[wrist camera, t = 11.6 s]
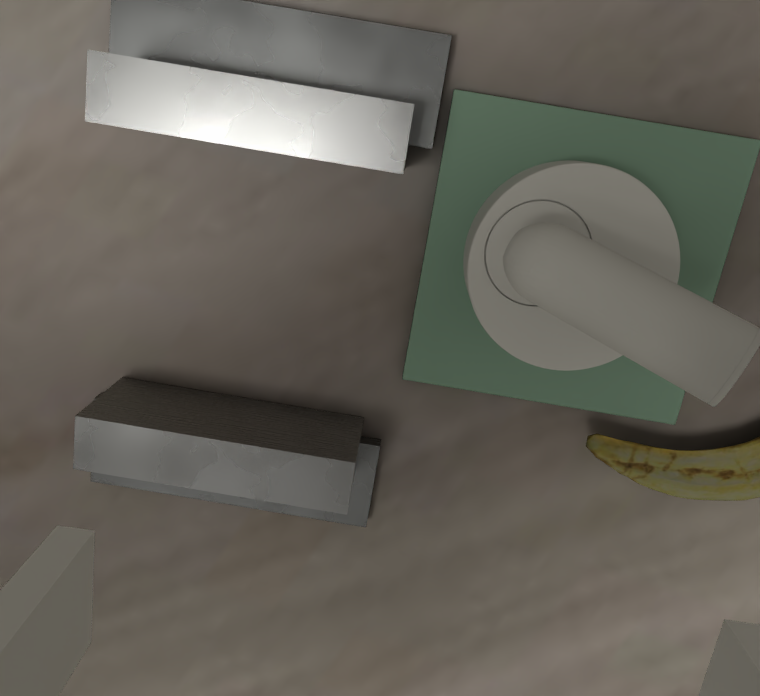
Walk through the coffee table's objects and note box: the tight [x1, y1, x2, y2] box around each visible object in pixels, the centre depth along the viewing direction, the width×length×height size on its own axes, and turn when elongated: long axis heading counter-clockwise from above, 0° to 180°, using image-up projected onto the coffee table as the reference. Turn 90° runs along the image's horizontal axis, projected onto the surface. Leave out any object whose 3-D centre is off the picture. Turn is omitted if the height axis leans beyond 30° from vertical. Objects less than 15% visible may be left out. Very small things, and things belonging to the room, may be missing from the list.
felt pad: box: [403, 89, 760, 425], centre depth 32 cm, size 13×13×1 cm
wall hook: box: [463, 160, 760, 407], centre depth 27 cm, size 9×10×10 cm
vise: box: [73, 0, 452, 527], centre depth 30 cm, size 14×23×5 cm, turn 171°
